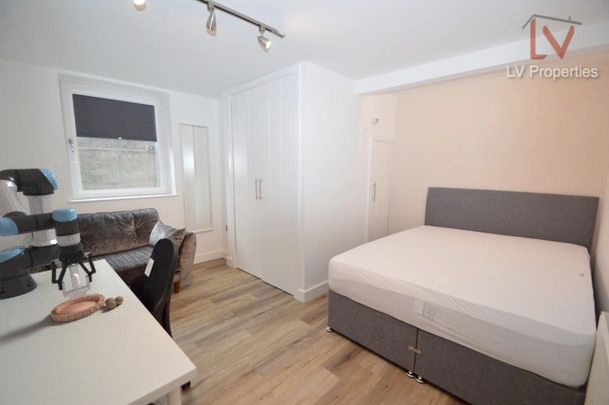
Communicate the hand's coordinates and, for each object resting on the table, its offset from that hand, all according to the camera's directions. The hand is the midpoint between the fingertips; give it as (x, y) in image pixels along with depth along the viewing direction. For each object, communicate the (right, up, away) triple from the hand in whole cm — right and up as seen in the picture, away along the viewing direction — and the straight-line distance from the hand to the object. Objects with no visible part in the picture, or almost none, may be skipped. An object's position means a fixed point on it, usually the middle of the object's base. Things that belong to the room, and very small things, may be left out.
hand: (77, 292), depth 115 cm
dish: (0, -8, +1) cm, 8 cm away
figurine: (0, -2, 0) cm, 2 cm away
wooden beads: (+13, -8, +4) cm, 16 cm away
